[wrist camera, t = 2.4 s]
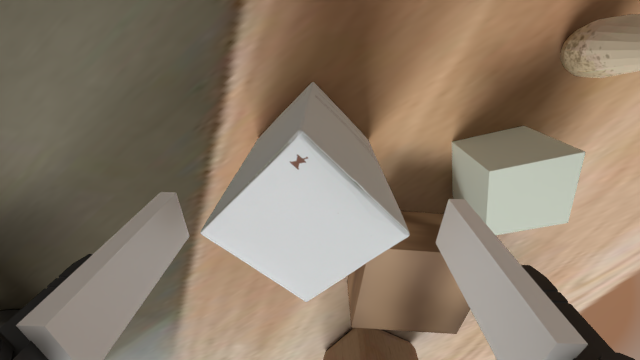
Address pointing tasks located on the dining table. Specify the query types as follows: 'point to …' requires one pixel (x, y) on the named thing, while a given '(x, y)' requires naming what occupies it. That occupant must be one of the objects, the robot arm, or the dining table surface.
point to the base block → (408, 284)
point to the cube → (516, 178)
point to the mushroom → (604, 48)
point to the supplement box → (308, 200)
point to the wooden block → (371, 346)
